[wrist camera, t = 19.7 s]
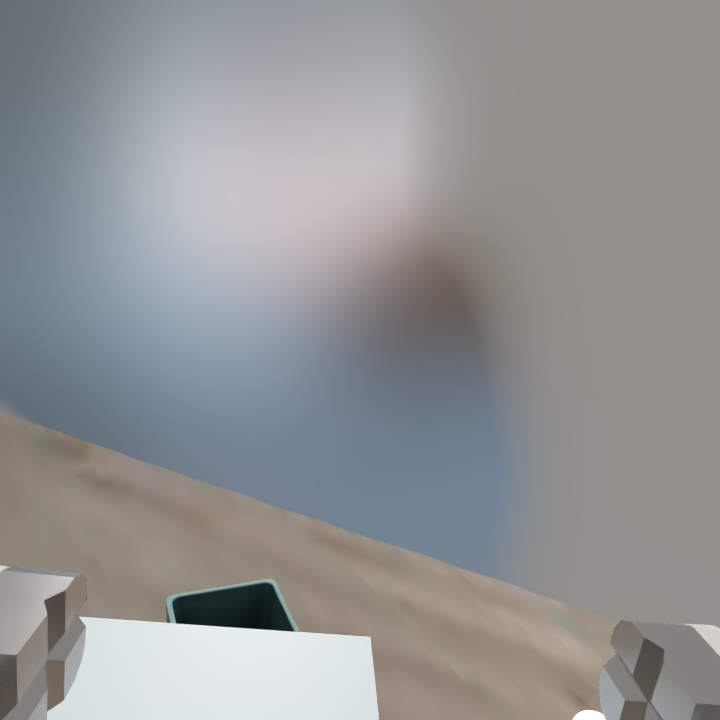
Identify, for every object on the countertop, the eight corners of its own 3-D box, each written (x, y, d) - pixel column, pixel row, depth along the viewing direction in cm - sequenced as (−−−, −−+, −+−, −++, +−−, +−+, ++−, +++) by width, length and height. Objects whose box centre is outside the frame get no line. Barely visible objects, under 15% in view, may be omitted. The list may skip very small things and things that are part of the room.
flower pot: (264, 664, 47) (274, 575, 45) (297, 752, 40) (310, 651, 38) (159, 690, 43) (165, 594, 41) (173, 794, 36) (181, 683, 34)
